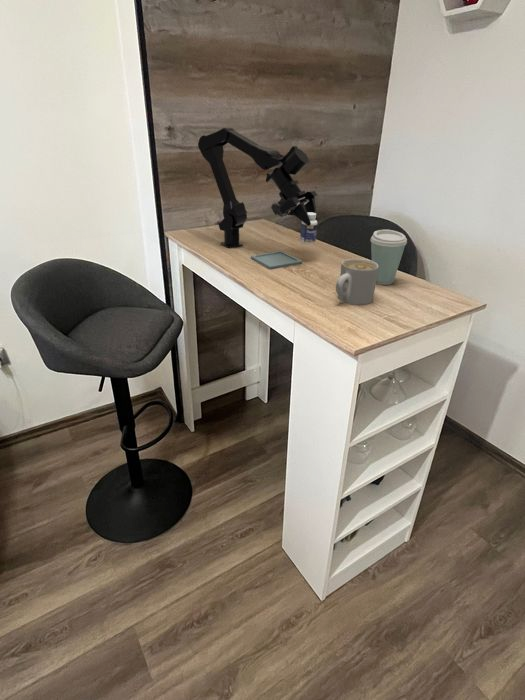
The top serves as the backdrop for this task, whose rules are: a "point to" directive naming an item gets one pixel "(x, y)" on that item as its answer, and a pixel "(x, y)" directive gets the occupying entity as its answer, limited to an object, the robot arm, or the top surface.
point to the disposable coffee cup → (387, 253)
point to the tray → (276, 259)
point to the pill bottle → (309, 230)
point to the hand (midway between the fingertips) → (313, 223)
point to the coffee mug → (357, 281)
